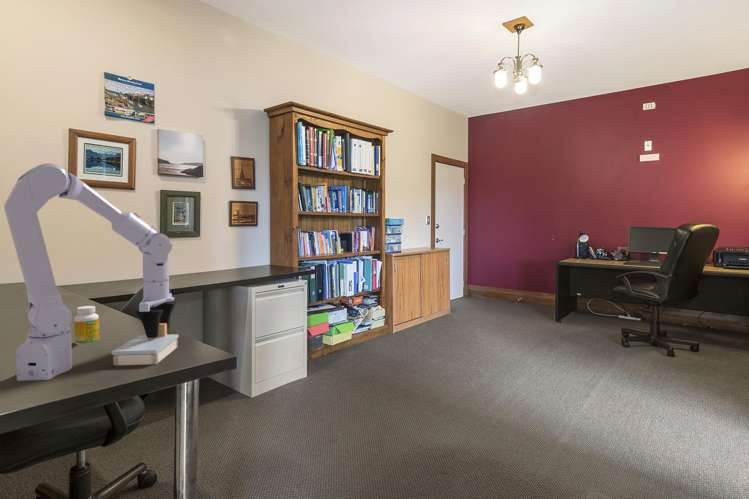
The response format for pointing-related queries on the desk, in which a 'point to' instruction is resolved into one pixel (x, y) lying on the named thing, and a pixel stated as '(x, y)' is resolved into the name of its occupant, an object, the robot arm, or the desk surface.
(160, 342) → the lid
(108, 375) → the desk surface
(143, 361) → the tub
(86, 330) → the supplement bottle
